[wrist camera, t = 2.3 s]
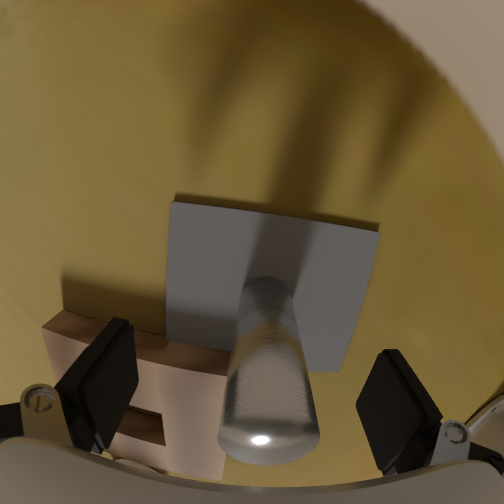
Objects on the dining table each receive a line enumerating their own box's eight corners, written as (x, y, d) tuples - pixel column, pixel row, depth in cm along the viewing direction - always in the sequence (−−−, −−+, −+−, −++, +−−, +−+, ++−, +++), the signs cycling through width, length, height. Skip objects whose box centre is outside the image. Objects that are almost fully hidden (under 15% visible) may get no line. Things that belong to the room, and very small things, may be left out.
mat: (377, 231, 16) (380, 232, 15) (337, 369, 18) (338, 372, 18) (173, 200, 15) (171, 201, 15) (167, 348, 18) (166, 351, 18)
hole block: (241, 349, 18) (237, 378, 15) (224, 457, 22) (221, 480, 19) (62, 309, 18) (41, 327, 15) (93, 423, 21) (82, 442, 19)
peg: (295, 280, 16) (333, 413, 6) (286, 325, 17) (304, 466, 7) (243, 273, 16) (220, 404, 6) (237, 318, 17) (215, 459, 7)
